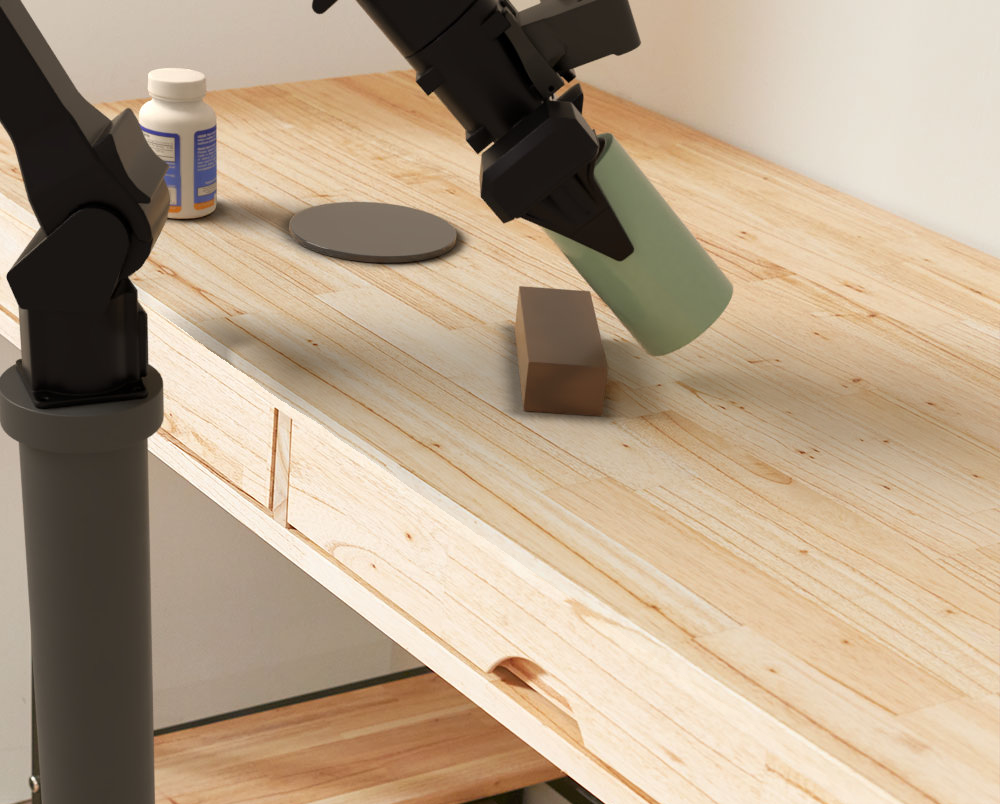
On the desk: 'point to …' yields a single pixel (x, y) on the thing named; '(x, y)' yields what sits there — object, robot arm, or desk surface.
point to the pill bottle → (183, 139)
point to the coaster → (372, 232)
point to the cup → (649, 261)
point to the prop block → (559, 352)
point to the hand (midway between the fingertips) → (621, 236)
